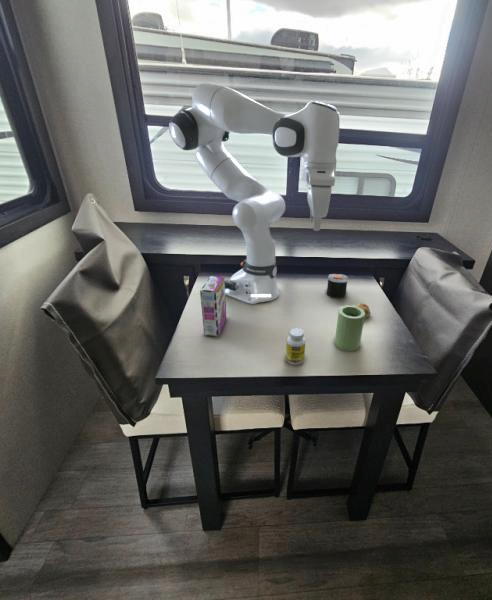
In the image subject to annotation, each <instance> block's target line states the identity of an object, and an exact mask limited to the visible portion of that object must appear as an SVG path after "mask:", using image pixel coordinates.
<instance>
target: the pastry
mask: <svg viewBox="0 0 492 600" xmlns="http://www.w3.org/2000/svg"><path fill="white" fill-rule="evenodd" d="M353 306H357V307H360V308H361V309H363V310H364V311H365V318H368V317H369V316H371V314H372V313H371V309H370V306H368V305H367V304H366V303H363V302H362V303H361V302H360V303H359V304H355V305H353Z"/></svg>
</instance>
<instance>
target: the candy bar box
mask: <svg viewBox="0 0 492 600" xmlns="http://www.w3.org/2000/svg"><path fill="white" fill-rule="evenodd" d="M199 294H200V305H201V316H202V326H203V335H204V336H205V337H219V336H220V334H221V331H222V330H223V327H224V326H225V323H226V322H227V318H228V317H227V302H226V295H225V276H214V275H210V276H209V278H208V279H207V280H206V281H205V283H204V285H202V287H201V289H200V290H199Z"/></svg>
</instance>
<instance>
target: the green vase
mask: <svg viewBox="0 0 492 600" xmlns="http://www.w3.org/2000/svg"><path fill="white" fill-rule="evenodd" d="M365 319H366V317H365V311H364V310H363V309H361V308H360V307H357V306H354V305H351V304H346V305H342V306H340V307H338V313H337V320H336V328H335V337H334V345H335V346H336V347H337V348H338V349H340V350H342V351H345V352H346V351H347V352H353V351H356V350H358V349H359V348H360V345H361V341H362V335H363V329H364V324H365Z"/></svg>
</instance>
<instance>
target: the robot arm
mask: <svg viewBox="0 0 492 600" xmlns="http://www.w3.org/2000/svg"><path fill="white" fill-rule="evenodd" d="M191 102H192V103H191V104H192V107H189V108H187V109H182V110H180V111H179V112H177V113H176V114H175V115H173V116H172V117H171V118H170V119H169V122H168V132H169V135H170V137H171V139H172V140H173V142H174V143H175V145H176V146H177V147H178V148H180V149H181V150H183V151H192V150H195V160H196V162H197V163H198V165H199V166H200V168H201V169H202V170H203V172H204V173H205V174H206V176H207V177H208V178H209V180H211V181H212V182H213V184H214V185H215V187H217V188H218V190H220V191H221V192H222V193H223V195H224V196H226V198H228V199H230V200H232V201H235V202H237V204H235V205H234V207H233V208H232V213H231V215H232V220H233V223H234V224H235V226H236V227H237V228H238V229H239V230H240V231H241V233H242V235H243V238H244V241H245V253H246V258H245V259H244V260H243V261H242V262H241V263H240V267H242V268H241V269H239V270H237V271H236V272H235V273H234V274H232V275H231V276H230V278H229V279H226V280H225V279H224V280H225V296H228V297H231V298H233V299H236V300H239V301H242V302H245V303H246V304H249V305H255V304H258V303H265V302H270V301H273V300H276V299H277V298H278V297H279V296H280V291H279V289H278V283H277V272H278V268H277V267H278V265H277V260H276V255H277V254H276V251H277V250H276V249H277V248H276V247H277V244H276V241H275V239H274V238H273V236H272V235H271V231H270V226H271V224H273V223H275V222H277V221H279V219H280V218H281V217H282V216H283V215H284V214H285V212H286V202H285V199H284V197H282V195H280V194H279V193H277V192H274V191H272V190H270V188H267V187H266V186H265V185H263V184H262V183H260V181H258V180H256V179H255V178H254V177H252V176H251V175H250V174H249V172H247V170H246V169H244V167H243V166H241V164H239V162H238V161H237V160H236V158H234V157H233V156H232V155H231V154H230V153H229V151H227V149H226V148H225V146H224V143H223V142H228V140H229V138H230V133H232V134H240V135H246V134H247V135H248V134H249V135H250V134H257V135H258V134H262V135H263V134H264V135H270V136H271V141H272V145H273V149H274V150H275V151H276V153H277V154H278V155H280V156H282V157H286V158H302V165H301V167H302V168H301V180H302V181H304V182H305V183H306V184H305V187H306V188H307V199H306V201H307V203H308V206H309V212H310V217H309V220H310V222H312V223H313V224H312V229H313V231H314V232H320V231H321V224H322V221H323V218H327V217H328V216H327V215H328V213H329V207H330V203H331V202H330V201H331V195H332V187H335V182H336V173H337V172H336V171H337V150H338V146H339V141H340V140H339V139H340V112H339V110H338V109H337V107H336V106H334V105H332V104H329V103H325V102H321V101H317V100H312V101H309V102H308V103H307V104H306V105H305V106H304V107H303V108H302V109H300V110H298V111H297V112H295V113H292V114H289V115H287V114H284V113H281V112H278V111H277V110H274V109H271V108H269V107H267V106H265V105H263V104H262V103H259V102H258V101H255V100H254V99H252V98H250V97H249V96H247V95H244V94H243V93H241V92H239V91H237V90H235V89H233V88H230V87H228V86H225V85H222V84H218V83H209V82H207V83H206V82H203V83H200V84H198V85H197V86H196V87H195V88H194V90H193V92H192V97H191Z"/></svg>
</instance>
